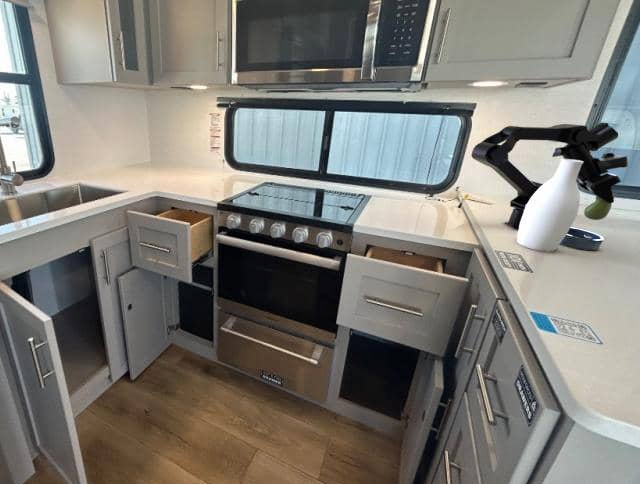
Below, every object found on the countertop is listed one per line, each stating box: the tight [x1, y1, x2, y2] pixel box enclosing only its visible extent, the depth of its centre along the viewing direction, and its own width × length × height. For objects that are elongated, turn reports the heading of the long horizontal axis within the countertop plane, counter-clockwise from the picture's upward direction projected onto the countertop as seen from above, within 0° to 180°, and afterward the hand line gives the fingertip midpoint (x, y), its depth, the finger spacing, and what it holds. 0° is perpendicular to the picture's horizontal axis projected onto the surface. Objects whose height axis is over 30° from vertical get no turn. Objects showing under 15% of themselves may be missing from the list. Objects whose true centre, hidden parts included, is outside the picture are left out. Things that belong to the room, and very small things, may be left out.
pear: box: [583, 190, 615, 221], centre depth 105 cm, size 6×5×10 cm
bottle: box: [516, 158, 584, 253], centre depth 94 cm, size 11×11×25 cm
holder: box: [559, 226, 605, 251], centre depth 101 cm, size 11×11×4 cm
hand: (608, 200), depth 103 cm, fingers closed on pear, 4 cm apart
